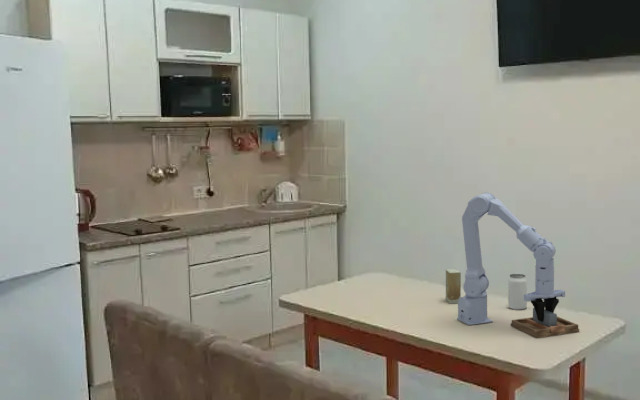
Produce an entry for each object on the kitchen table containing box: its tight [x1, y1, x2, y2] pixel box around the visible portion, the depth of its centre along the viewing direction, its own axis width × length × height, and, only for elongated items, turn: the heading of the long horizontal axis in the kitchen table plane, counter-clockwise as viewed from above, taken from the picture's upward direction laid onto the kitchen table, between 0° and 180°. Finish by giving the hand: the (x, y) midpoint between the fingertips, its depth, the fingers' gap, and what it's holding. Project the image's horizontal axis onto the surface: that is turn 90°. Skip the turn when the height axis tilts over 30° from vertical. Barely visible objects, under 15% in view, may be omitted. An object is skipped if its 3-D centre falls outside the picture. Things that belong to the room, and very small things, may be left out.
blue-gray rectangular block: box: [532, 307, 558, 328], centre depth 214 cm, size 2×9×5 cm, turn 18°
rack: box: [510, 316, 580, 339], centre depth 215 cm, size 16×14×3 cm
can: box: [507, 273, 528, 311], centre depth 240 cm, size 6×6×12 cm
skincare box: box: [445, 268, 462, 305], centre depth 251 cm, size 6×4×12 cm
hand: (544, 320), depth 214 cm, fingers closed on blue-gray rectangular block, 2 cm apart
